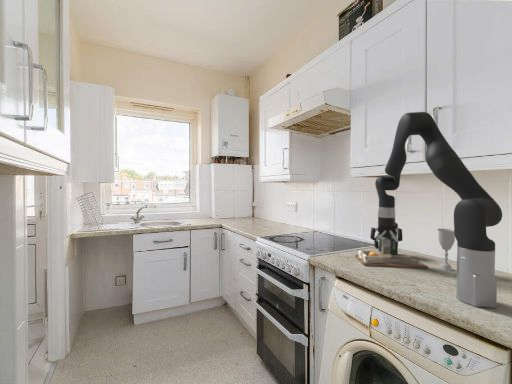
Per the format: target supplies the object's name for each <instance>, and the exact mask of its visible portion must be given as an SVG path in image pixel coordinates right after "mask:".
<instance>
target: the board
mask: <svg viewBox="0 0 512 384" xmlns="http://www.w3.org/2000/svg"><path fill="white" fill-rule="evenodd" d="M370 252H376V251H375V250H361V249H360V250H358V253H357V254H355V258H356V259H357V260H358V261H359V262H360V263H361V264H362V265H363V267H380V268H381V267H382V268H384V267H385V268H402V269H403V268H405V269H424V270H429V266H428V265H427V264H424V263H422V262H421V261H420V260H418V259H415V258H413V257H412V256H410V255H408V256H407V255H395V256H391V259H383V257H381V256H379V254H377V255H378V256H369V253H370Z"/></svg>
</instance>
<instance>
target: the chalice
mask: <svg viewBox="0 0 512 384" xmlns="http://www.w3.org/2000/svg"><path fill="white" fill-rule="evenodd" d="M437 231H438V242H439V245H440V246H441V249H442V250H444V253H443V254H444V257H443V259H444V262H441V264H440V265H439V267H438V268H439V270H443V271H446V270H447V272H452V271H451V270H454V269H453V267H452V265H451V264H450V263H448V260H449V258H448V256H449V254H448V251H451V249H452V247H453V246H454V244H455V241H456V238H455V234H454V229H451V228H437Z"/></svg>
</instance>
